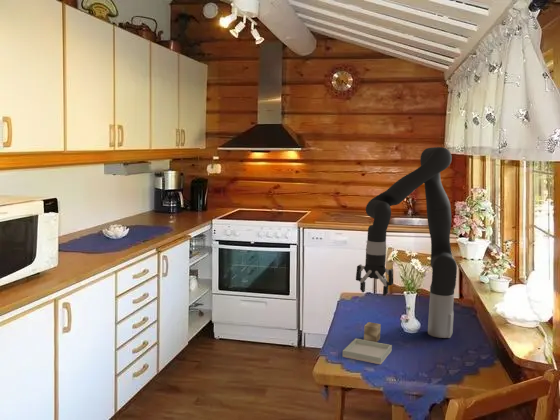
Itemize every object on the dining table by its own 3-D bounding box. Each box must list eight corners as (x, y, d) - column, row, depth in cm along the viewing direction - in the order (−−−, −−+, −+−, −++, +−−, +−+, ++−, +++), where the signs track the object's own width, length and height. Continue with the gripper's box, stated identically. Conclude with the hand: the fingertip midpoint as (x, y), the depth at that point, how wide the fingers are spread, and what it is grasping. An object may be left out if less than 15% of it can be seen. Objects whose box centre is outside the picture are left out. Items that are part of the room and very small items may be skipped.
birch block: (380, 338, 216) (380, 324, 216) (376, 342, 212) (376, 327, 211) (367, 336, 219) (368, 322, 218) (363, 340, 214) (364, 325, 213)
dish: (391, 351, 204) (391, 345, 203) (380, 364, 191) (380, 358, 191) (355, 344, 210) (355, 338, 210) (342, 356, 198) (342, 350, 197)
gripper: (396, 252, 211) (394, 294, 213) (361, 248, 217) (359, 288, 220) (391, 256, 204) (389, 298, 207) (354, 251, 211) (352, 293, 213)
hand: (373, 293), depth 213 cm, fingers open, 8 cm apart
